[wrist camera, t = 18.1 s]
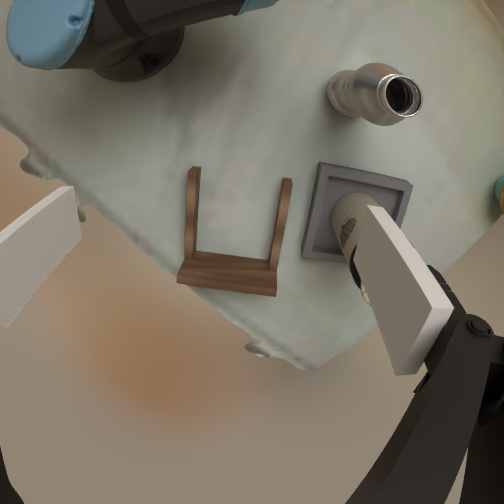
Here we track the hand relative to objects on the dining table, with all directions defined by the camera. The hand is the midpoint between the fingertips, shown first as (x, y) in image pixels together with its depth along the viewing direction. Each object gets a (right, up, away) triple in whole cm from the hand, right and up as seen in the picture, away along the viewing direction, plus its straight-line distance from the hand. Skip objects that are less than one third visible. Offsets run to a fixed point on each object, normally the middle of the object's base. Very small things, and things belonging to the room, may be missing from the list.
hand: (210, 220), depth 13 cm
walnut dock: (-1, +3, +35) cm, 36 cm away
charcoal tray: (+18, +4, +34) cm, 38 cm away
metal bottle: (+15, +21, +25) cm, 36 cm away
